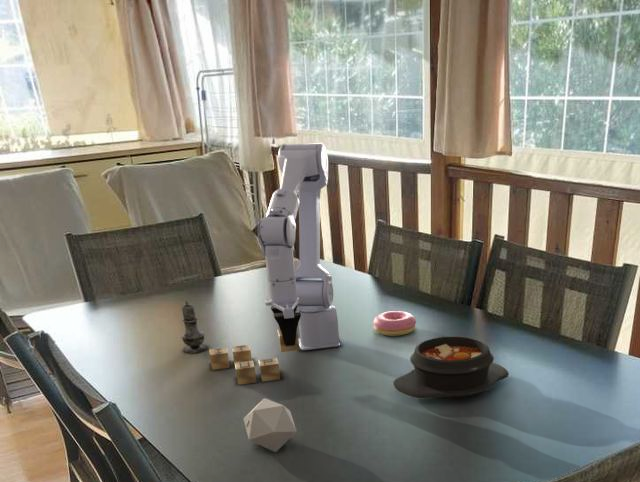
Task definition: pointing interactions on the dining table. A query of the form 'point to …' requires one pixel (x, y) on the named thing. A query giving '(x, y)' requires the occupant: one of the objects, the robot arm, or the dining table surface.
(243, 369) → the tile
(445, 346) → the casserole
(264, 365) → the tile
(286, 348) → the tile
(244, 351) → the tile
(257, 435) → the die
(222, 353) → the tile
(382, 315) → the doughnut
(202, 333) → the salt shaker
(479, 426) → the dining table surface
